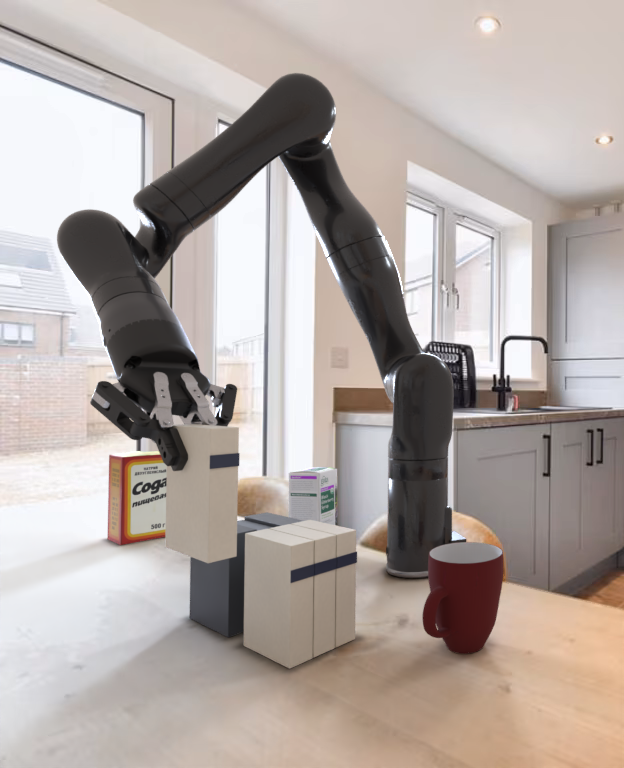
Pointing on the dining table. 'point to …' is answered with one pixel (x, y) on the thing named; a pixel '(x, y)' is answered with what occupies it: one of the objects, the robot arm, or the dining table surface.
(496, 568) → the mug
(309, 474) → the syrup box
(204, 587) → the grey books
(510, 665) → the dining table surface
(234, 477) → the white book
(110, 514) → the baking soda box
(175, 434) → the robot arm
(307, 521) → the white books
